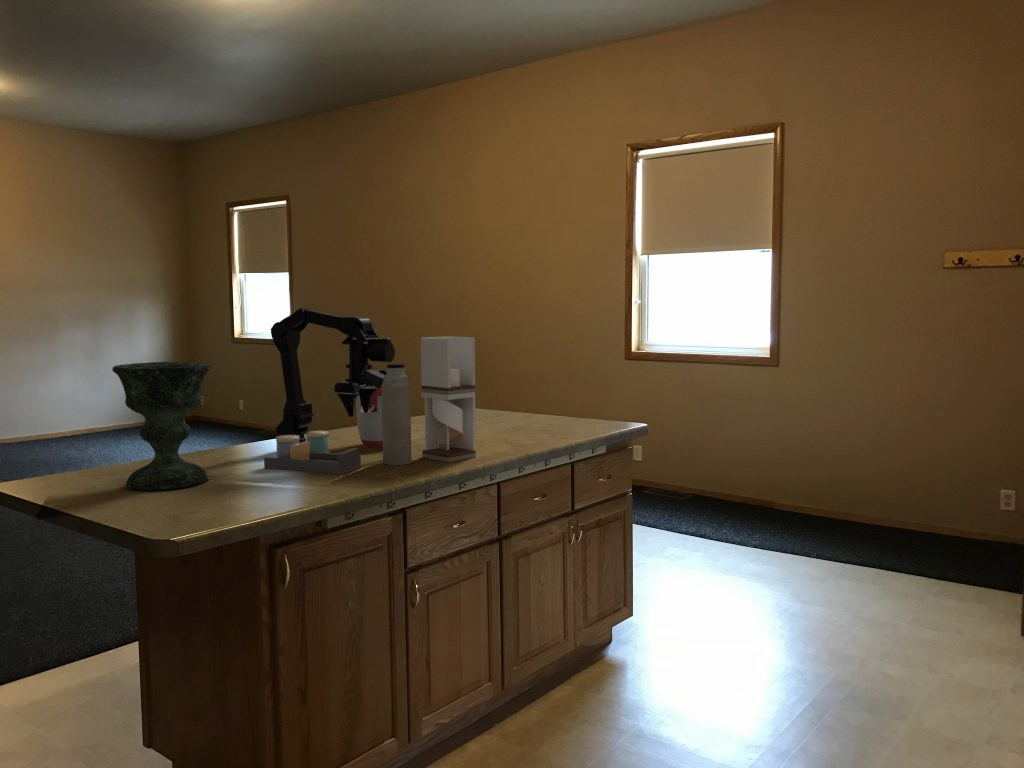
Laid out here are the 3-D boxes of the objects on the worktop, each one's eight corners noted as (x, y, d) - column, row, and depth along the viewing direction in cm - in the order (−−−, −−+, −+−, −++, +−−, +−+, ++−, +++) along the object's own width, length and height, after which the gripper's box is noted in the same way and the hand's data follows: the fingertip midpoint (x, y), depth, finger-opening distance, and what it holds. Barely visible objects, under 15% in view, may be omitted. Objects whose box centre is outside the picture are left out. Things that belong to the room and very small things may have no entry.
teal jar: (303, 461, 237) (302, 433, 236) (314, 457, 243) (313, 430, 242) (322, 462, 235) (321, 434, 234) (333, 458, 241) (332, 431, 240)
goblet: (119, 478, 213) (114, 363, 210) (212, 471, 222) (208, 360, 219) (116, 497, 193) (109, 369, 190) (218, 488, 202) (213, 366, 199)
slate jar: (272, 467, 224) (271, 438, 223) (285, 462, 230) (284, 434, 229) (292, 468, 222) (291, 438, 221) (304, 464, 228) (303, 435, 227)
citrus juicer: (343, 448, 256) (342, 384, 254) (373, 440, 272) (372, 379, 271) (387, 452, 251) (386, 386, 249) (415, 442, 267) (414, 381, 265)
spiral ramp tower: (422, 457, 242) (420, 337, 239) (449, 452, 250) (447, 336, 246) (448, 462, 234) (447, 338, 231) (475, 457, 242) (474, 337, 239)
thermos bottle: (391, 459, 239) (389, 362, 236) (416, 460, 236) (414, 363, 233) (377, 464, 231) (376, 364, 229) (403, 466, 229) (402, 365, 226)
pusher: (290, 468, 221) (289, 446, 220) (306, 462, 229) (305, 441, 228) (294, 468, 221) (293, 446, 220) (309, 463, 228) (309, 441, 228)
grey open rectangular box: (264, 471, 222) (263, 450, 221) (287, 464, 232) (286, 443, 232) (341, 476, 215) (340, 454, 214) (360, 468, 226) (360, 447, 225)
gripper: (369, 364, 226) (369, 421, 227) (398, 359, 243) (397, 412, 245) (333, 362, 229) (333, 418, 230) (363, 358, 246) (363, 409, 248)
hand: (358, 414), depth 238 cm, fingers open, 9 cm apart
